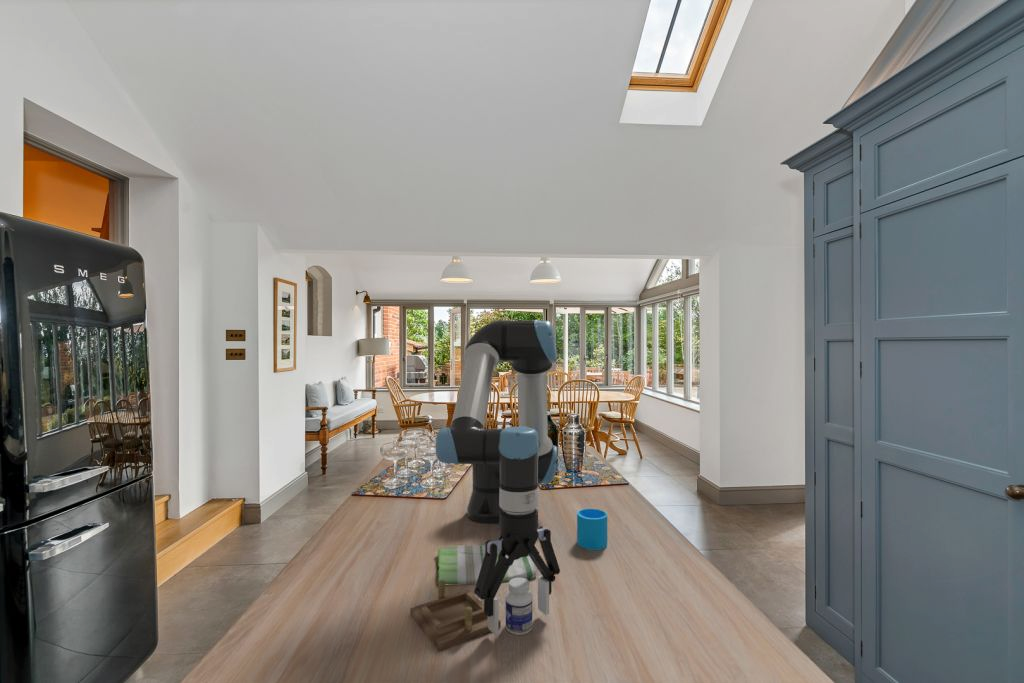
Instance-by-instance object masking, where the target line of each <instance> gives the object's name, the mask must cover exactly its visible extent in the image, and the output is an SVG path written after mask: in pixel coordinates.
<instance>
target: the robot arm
mask: <svg viewBox="0 0 1024 683" xmlns="http://www.w3.org/2000/svg"><path fill="white" fill-rule="evenodd" d="M463 360H464V363H465V364H464V369H463V373H462V377H461V381H460V385H459V390H458V395H457V397H456V398H457V399H456V402H455V406H454V412H453V414H452V420H451V423H450V427H448V426H447V427H442V428H440V429H439V430H438V431H437V434H436V438H435V455H436V459H437V461H439V462H440V463H441V464H442V463H443V464H452V465H462V464H463V465H472V492H471V495H470V497H469V500H468V503H467V507H466V509H467V510H466V516H467V518H469V520H472V521H473V522H477V523H485V524H494V523H495V524H496V523H499V531H500V535H499V538H498V540H494V541H491V540H489V539H487V540H486V541H485V544H484V545H485V556H484V559H483V563H482V566H481V570H480V573H479V577H478V580H477V583H476V585H475V588H474V590H473V592H474V593H473V594H475V596H476V597H477V598H478V599H479V600H483V604H484V612H485V614H486V615H487V616H488V629H489V630H490V632H491V633H492V634H493V635H495V636H496V635H499V628H498V619H499V598H498V597H497V593H498V591H499V589H500V586H501V585H502V583H503V582H502V581H503V579H504V577H505V575H506V573H507V570H508V568H509V566H511V565H512V564H513V562H514V560H517V559H519V558H521V557H527V556H528V555H529V556H530V558H531V560H532V562H533V565H534V566H535V568H536V569H537V570H538V572H539V573H540V574H541V576H540V575H539V576H537V610H539V611H540V612H541V613H543V615H545V616H548V615H550V595H552V586H553V585H552V583H554V582H555V580H556V575H559V574H560V573H561V569H560V566H559V563H558V560H557V557H556V554H555V550H554V547H553V546H554V545H553V544H552V540H551V539H552V538H551V536H552V535H551V534H552V532H551V530H550V529H548V528H546V527H544V526H543V525H541V526H540V527H539V510H538V509H537V508H538V507H539V485H541V484H550V483H552V482H553V481H554V479H555V476H556V470H557V460H558V447H557V446H556V445H554V444H553V441H552V439H551V438H550V437H549V436H548V434H549V433H548V372H549V371H551V370H552V367H553V364H554V363H556V362H557V361H558V352H557V343H556V336H555V328H554V325H553V323H552V322H551V321H549V320H539V319H529V320H526V319H525V320H522V319H521V320H520V319H518V320H503V319H502V320H501V319H500V320H495V321H491V322H489V323H486V324H484V326H482V327H480V328H479V329H478V330H477V331H476V332H474V333H473V335H472V336H471V337H470V338H469V340H468V342H467V344H466V345H465V349H464V353H463ZM499 362H501V363H503V362H504V363H511V368H512V370H513V371H514V372H515V373H516V375H517V377H516V378H517V381H516V383H517V400H518V401H517V402H518V403H517V404H518V405H517V406H518V426H509V427H506V428H485V425H486V419H487V414H488V408H489V401H490V395H491V388H492V382H493V377H494V370H495V369H496V368H497V366H498V364H499ZM537 541H539V544H540V548H541V549H542V553H543V554H542V555H543V556H544V559H543V558H542V556H541V555H540V552H539V550H538V549H537V547H536V543H537ZM500 547H501V548H502V549H501V551H500V553H499V549H500ZM497 554H499V555H498V561H497V563H496V560H497ZM506 555H507V556H509V557H508V558H506ZM544 560H545V561H544ZM495 564H496V565H495Z"/></svg>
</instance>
